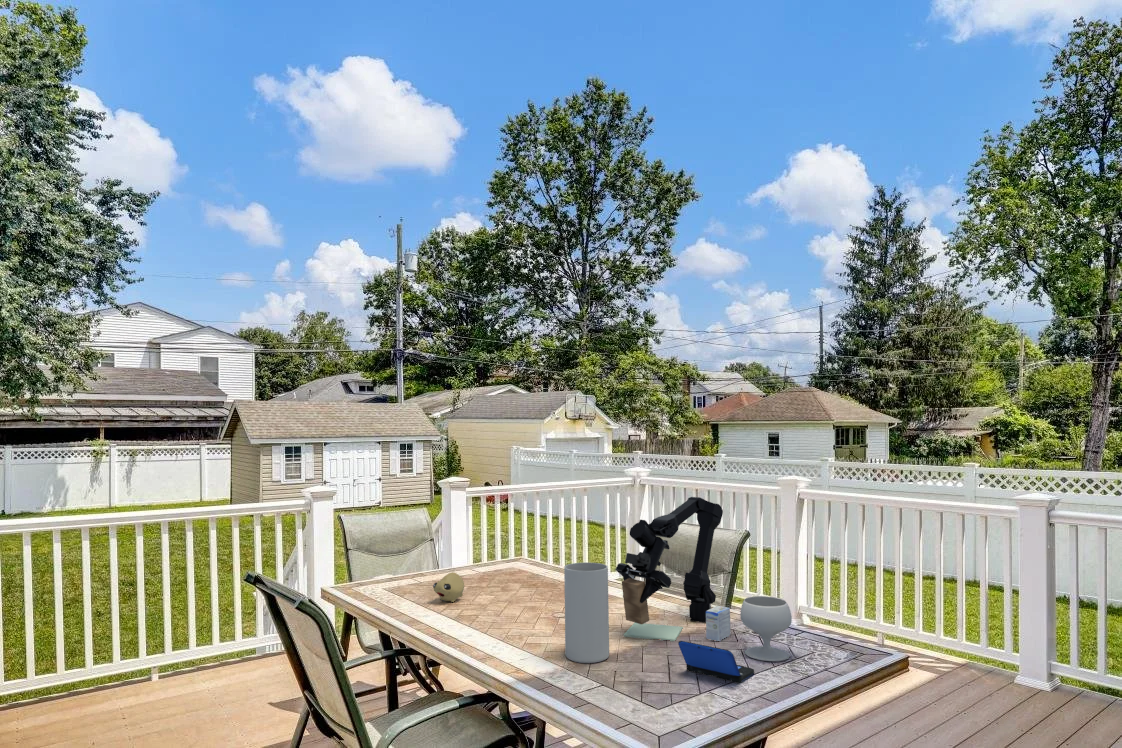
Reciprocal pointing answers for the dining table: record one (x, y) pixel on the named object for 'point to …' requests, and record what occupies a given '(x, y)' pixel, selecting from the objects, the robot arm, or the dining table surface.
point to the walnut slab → (634, 601)
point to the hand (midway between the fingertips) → (632, 600)
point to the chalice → (766, 624)
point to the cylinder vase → (586, 612)
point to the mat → (653, 631)
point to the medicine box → (717, 623)
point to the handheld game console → (713, 662)
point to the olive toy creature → (449, 587)
